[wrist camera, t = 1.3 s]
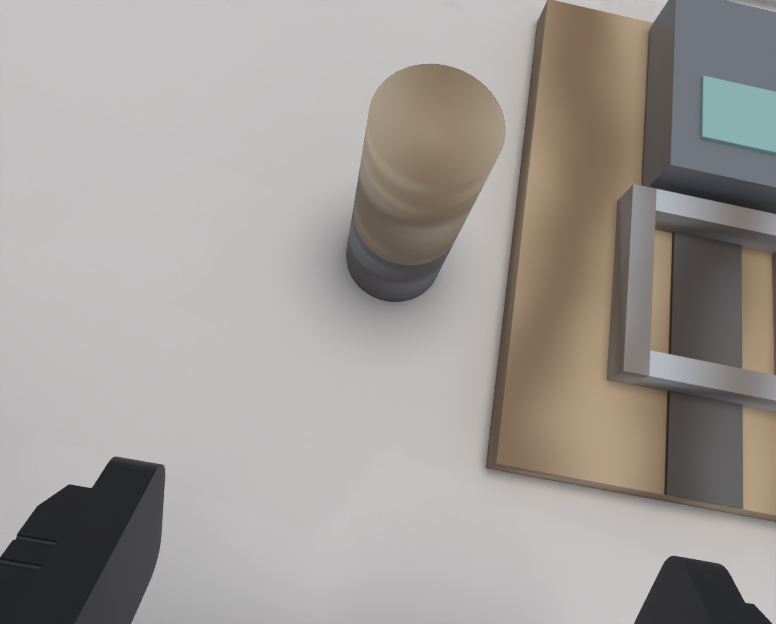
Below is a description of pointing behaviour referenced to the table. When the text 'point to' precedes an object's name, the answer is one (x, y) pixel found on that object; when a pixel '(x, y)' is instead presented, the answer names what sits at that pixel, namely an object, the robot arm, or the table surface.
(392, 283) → the tan grey cylinder
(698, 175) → the block
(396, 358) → the table surface
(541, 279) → the board
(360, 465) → the table surface
